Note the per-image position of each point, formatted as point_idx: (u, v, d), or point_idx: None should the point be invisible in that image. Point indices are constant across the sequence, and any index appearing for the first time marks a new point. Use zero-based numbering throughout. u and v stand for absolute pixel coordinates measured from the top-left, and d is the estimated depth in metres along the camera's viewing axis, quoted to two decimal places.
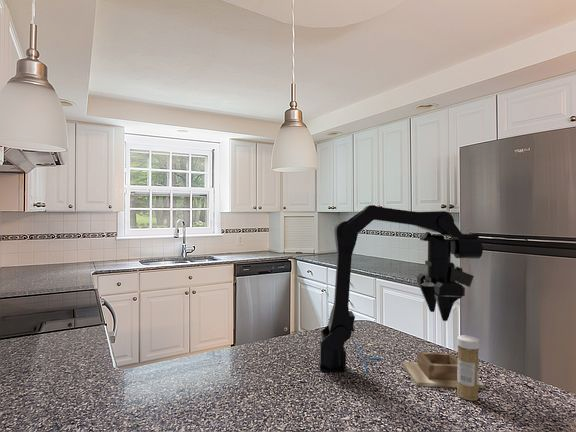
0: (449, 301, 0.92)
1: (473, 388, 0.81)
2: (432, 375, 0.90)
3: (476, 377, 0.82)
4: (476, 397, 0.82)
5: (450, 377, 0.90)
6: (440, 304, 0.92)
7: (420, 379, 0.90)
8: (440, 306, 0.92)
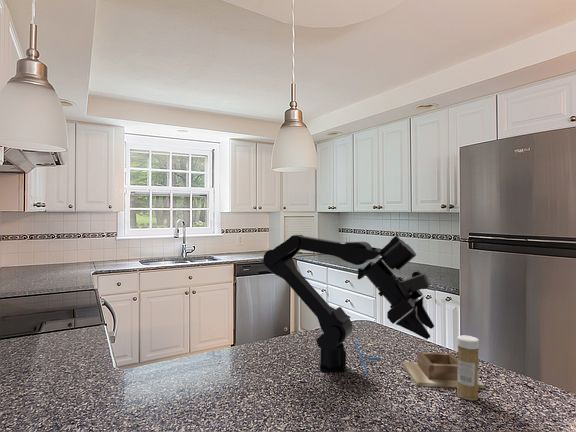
0: (413, 319, 0.84)
1: (473, 388, 0.81)
2: (432, 375, 0.90)
3: (476, 377, 0.82)
4: (476, 397, 0.82)
5: (450, 377, 0.90)
6: (407, 328, 0.84)
7: (420, 379, 0.90)
8: (410, 329, 0.84)
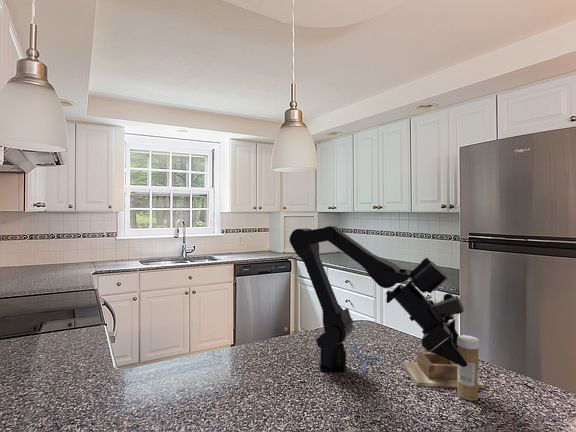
0: (449, 346, 0.80)
1: (473, 388, 0.81)
2: (432, 375, 0.90)
3: (476, 377, 0.82)
4: (476, 397, 0.82)
5: (450, 377, 0.90)
6: (443, 355, 0.80)
7: (420, 379, 0.90)
8: (445, 357, 0.80)
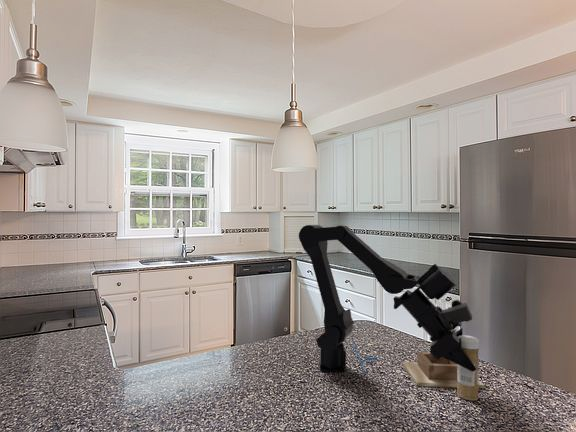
0: (458, 350, 0.81)
1: (473, 388, 0.81)
2: (432, 375, 0.90)
3: (476, 377, 0.82)
4: (476, 397, 0.82)
5: (450, 377, 0.90)
6: (452, 360, 0.81)
7: (420, 379, 0.90)
8: (454, 361, 0.81)
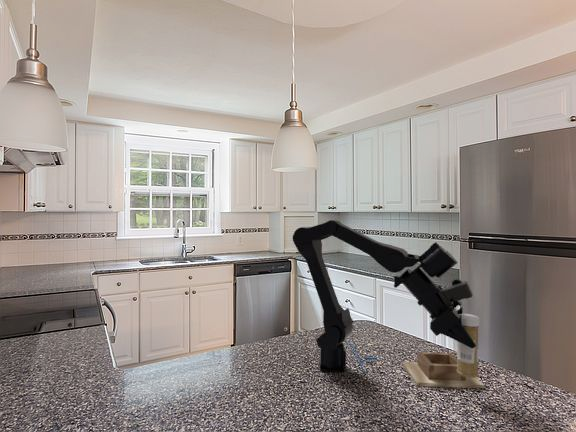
0: (458, 327, 0.81)
1: (473, 366, 0.81)
2: (432, 375, 0.90)
3: (476, 354, 0.82)
4: (476, 374, 0.82)
5: (450, 377, 0.90)
6: (452, 337, 0.82)
7: (420, 379, 0.90)
8: (454, 338, 0.82)
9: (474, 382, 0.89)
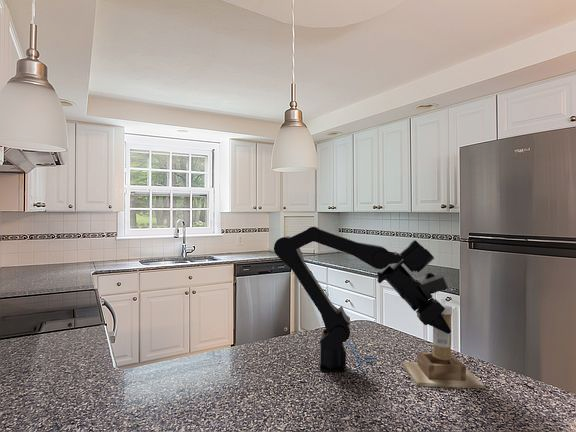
0: (437, 316, 0.91)
1: (448, 349, 0.92)
2: (432, 375, 0.90)
3: (450, 339, 0.92)
4: (450, 356, 0.92)
5: (450, 377, 0.90)
6: (433, 325, 0.91)
7: (420, 379, 0.90)
8: (434, 326, 0.91)
9: (474, 382, 0.89)
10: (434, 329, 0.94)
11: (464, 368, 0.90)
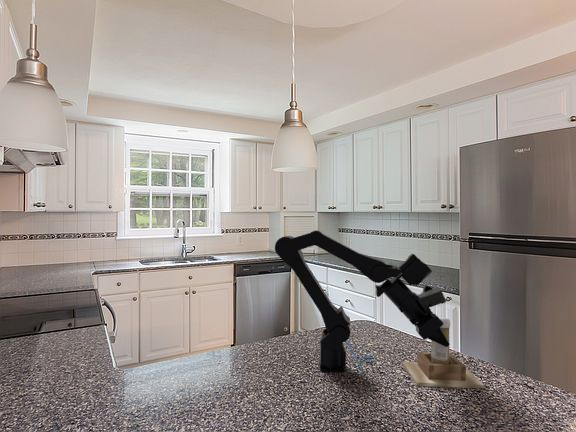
0: (436, 330, 0.91)
1: (447, 362, 0.93)
2: (432, 375, 0.90)
3: (448, 352, 0.93)
4: None
5: (450, 377, 0.90)
6: (431, 338, 0.91)
7: (420, 379, 0.90)
8: (433, 340, 0.91)
9: (474, 382, 0.89)
10: (432, 342, 0.94)
11: (464, 368, 0.90)
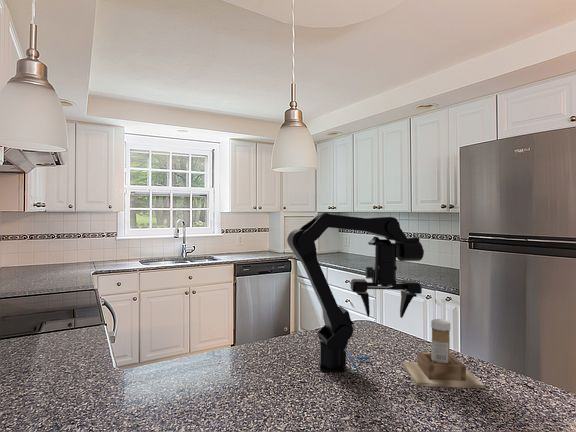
0: None
1: None
2: (432, 375, 0.90)
3: (449, 354, 0.93)
4: None
5: (450, 377, 0.90)
6: None
7: (420, 379, 0.90)
8: None
9: (474, 382, 0.89)
10: (433, 345, 0.94)
11: (464, 368, 0.90)
